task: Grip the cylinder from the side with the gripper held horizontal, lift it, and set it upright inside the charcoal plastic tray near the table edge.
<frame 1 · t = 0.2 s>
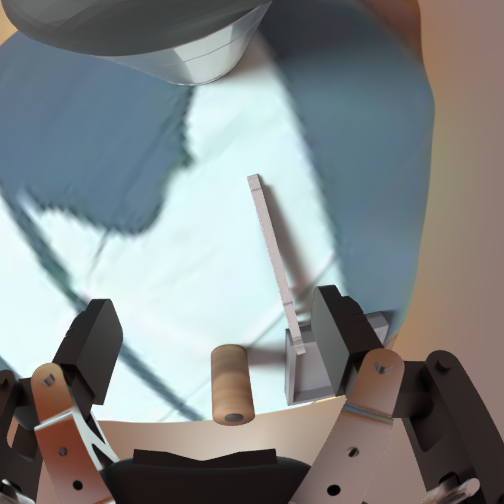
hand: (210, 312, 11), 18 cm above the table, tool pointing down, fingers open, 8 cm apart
cylinder: (228, 355, 38), on the table
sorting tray: (329, 356, 41), on the table
caliper: (275, 261, 32), on the table
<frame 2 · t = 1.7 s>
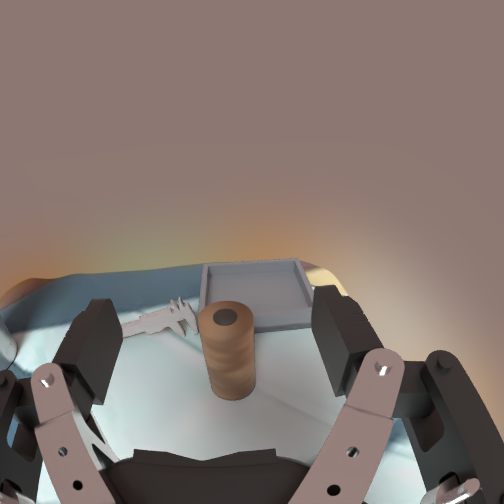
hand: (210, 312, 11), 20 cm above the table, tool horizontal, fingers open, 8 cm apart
cylinder: (233, 382, 30), on the table
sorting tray: (255, 300, 43), on the table
caliper: (127, 344, 35), on the table
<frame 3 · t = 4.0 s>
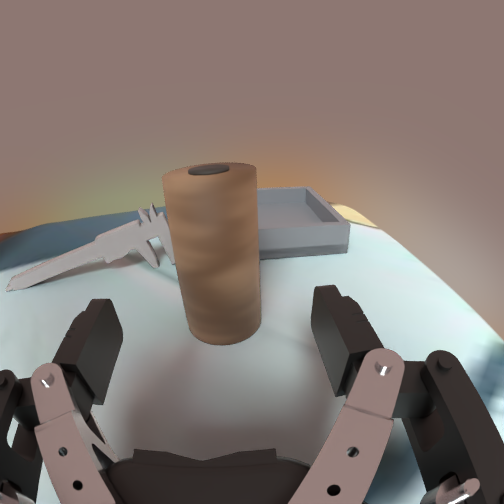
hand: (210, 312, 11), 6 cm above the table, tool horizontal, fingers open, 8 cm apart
cylinder: (224, 319, 19), on the table
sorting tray: (258, 229, 33), on the table
caliper: (81, 281, 25), on the table
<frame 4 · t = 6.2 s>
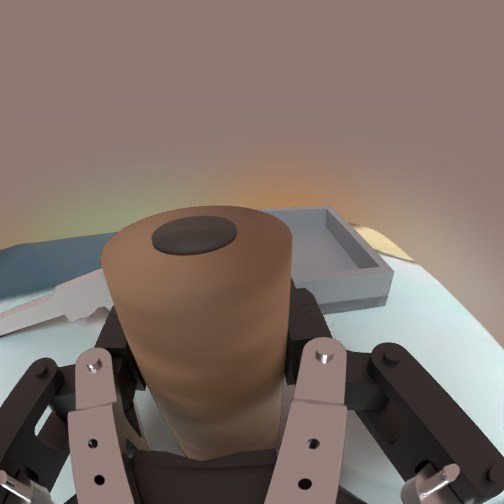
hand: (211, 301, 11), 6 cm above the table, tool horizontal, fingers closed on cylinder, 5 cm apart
cylinder: (226, 428, 12), on the table, touching gripper
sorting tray: (268, 267, 25), on the table
caliper: (45, 338, 17), on the table
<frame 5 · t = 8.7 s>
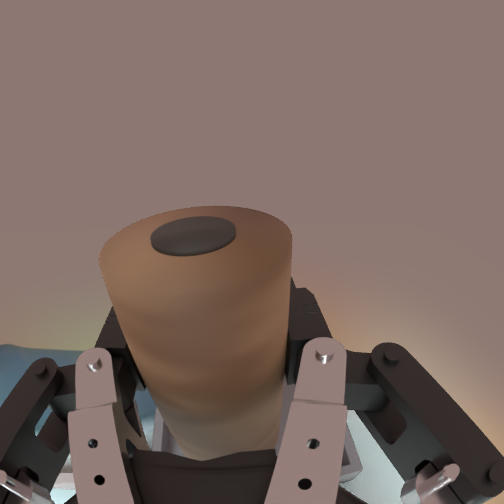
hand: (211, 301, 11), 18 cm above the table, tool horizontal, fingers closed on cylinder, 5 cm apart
cylinder: (226, 429, 12), point 12 cm above the table, touching gripper
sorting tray: (249, 431, 22), on the table
caliper: (59, 489, 14), on the table
when the fingers open (8 cm above the table, at t = 11.3 s): cylinder drops 1 cm, resting on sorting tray.
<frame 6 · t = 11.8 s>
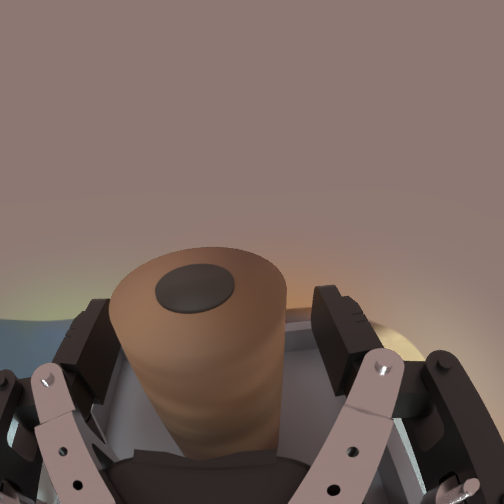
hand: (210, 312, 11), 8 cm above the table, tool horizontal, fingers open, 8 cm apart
cylinder: (230, 441, 12), point 1 cm above the table, touching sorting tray
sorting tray: (231, 446, 13), on the table
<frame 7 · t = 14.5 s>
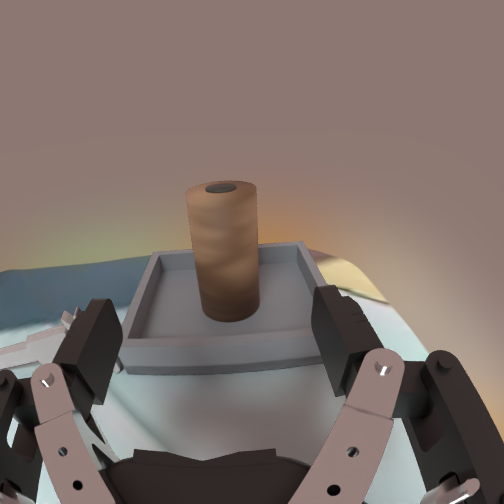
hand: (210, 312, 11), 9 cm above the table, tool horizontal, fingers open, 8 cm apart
cylinder: (230, 303, 24), point 1 cm above the table, touching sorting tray
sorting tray: (231, 311, 25), on the table
caliper: (25, 376, 17), on the table
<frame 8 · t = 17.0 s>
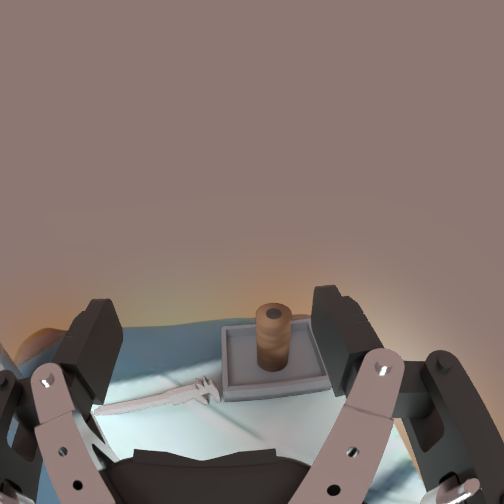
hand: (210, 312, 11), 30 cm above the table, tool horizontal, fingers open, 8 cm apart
cylinder: (272, 360, 44), point 1 cm above the table, touching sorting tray
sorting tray: (272, 363, 45), on the table
caliper: (155, 410, 36), on the table
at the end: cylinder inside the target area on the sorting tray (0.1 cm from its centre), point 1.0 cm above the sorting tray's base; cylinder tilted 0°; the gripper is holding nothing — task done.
